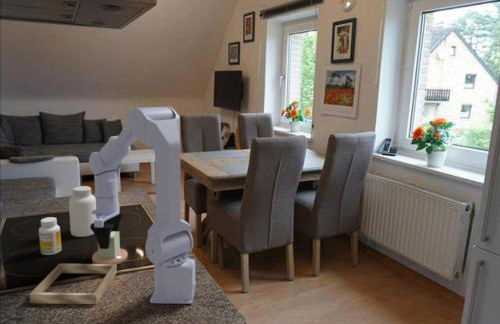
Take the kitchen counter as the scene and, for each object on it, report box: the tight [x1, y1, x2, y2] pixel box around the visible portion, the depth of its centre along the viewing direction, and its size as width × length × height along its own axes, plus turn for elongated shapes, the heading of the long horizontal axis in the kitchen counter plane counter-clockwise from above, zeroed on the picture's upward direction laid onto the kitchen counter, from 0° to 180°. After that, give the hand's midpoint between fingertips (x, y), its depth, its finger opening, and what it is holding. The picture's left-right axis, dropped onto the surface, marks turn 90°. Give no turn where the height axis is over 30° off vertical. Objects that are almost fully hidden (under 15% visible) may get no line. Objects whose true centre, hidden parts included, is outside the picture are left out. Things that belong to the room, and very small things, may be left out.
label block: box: [97, 231, 121, 258], centre depth 107 cm, size 4×4×6 cm
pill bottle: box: [68, 185, 96, 238], centre depth 124 cm, size 8×8×15 cm
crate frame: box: [29, 263, 118, 305], centre depth 93 cm, size 15×15×2 cm
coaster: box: [91, 247, 128, 265], centre depth 108 cm, size 9×9×1 cm
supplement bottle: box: [38, 216, 62, 256], centre depth 111 cm, size 5×5×10 cm
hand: (109, 242), depth 107 cm, fingers open, 7 cm apart
